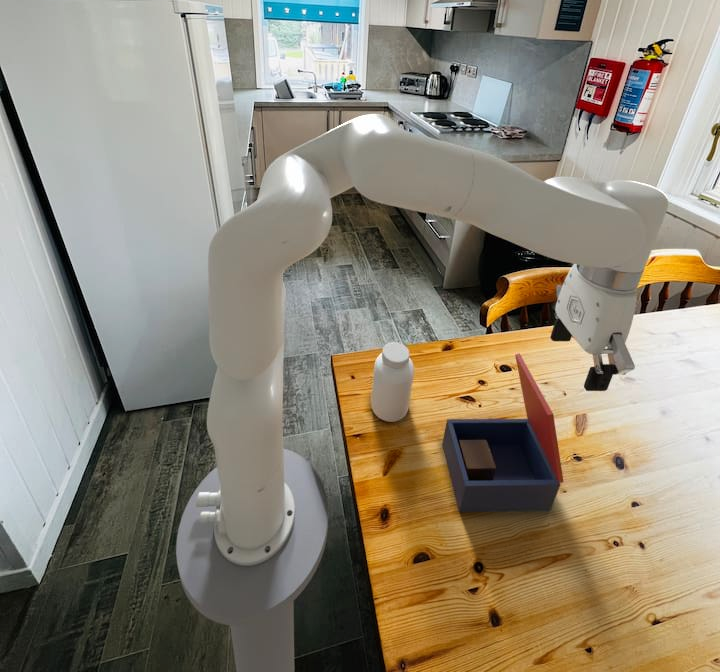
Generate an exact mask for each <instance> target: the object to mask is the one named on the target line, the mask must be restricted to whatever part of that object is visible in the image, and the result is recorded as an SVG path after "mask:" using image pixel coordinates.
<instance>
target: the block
mask: <svg viewBox="0 0 720 672" xmlns="http://www.w3.org/2000/svg"><path fill="white" fill-rule="evenodd" d="M458 445H459V448H460V452H461V455H462V459H463V462H464V466H465V469H466V473H467V476H468V480H469V481H493V478H494V475H495V471H496V466H495V463H494V460H493V457H492V455H491V452H490V449H489V446H488V443H487V441H486V440H459V443H458Z"/></svg>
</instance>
